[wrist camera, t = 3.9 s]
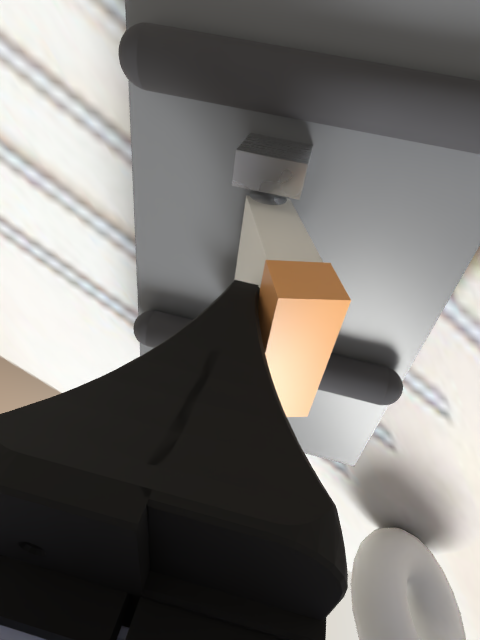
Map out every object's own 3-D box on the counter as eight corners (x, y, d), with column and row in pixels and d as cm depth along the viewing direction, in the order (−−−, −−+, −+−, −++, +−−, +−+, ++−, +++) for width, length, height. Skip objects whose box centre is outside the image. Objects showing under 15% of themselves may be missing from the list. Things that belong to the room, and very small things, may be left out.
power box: (571, -13, 11) (687, -25, 7) (354, 421, 24) (354, 501, 20) (165, -74, 12) (79, -113, 8) (162, 372, 25) (127, 438, 21)
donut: (340, 506, 30) (336, 681, 22) (381, 495, 28) (392, 683, 20) (419, 568, 32) (440, 741, 25) (461, 562, 31) (497, 748, 23)
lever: (289, 188, 13) (351, 300, 8) (268, 288, 16) (307, 416, 11) (241, 184, 13) (278, 298, 8) (227, 286, 15) (250, 418, 11)
